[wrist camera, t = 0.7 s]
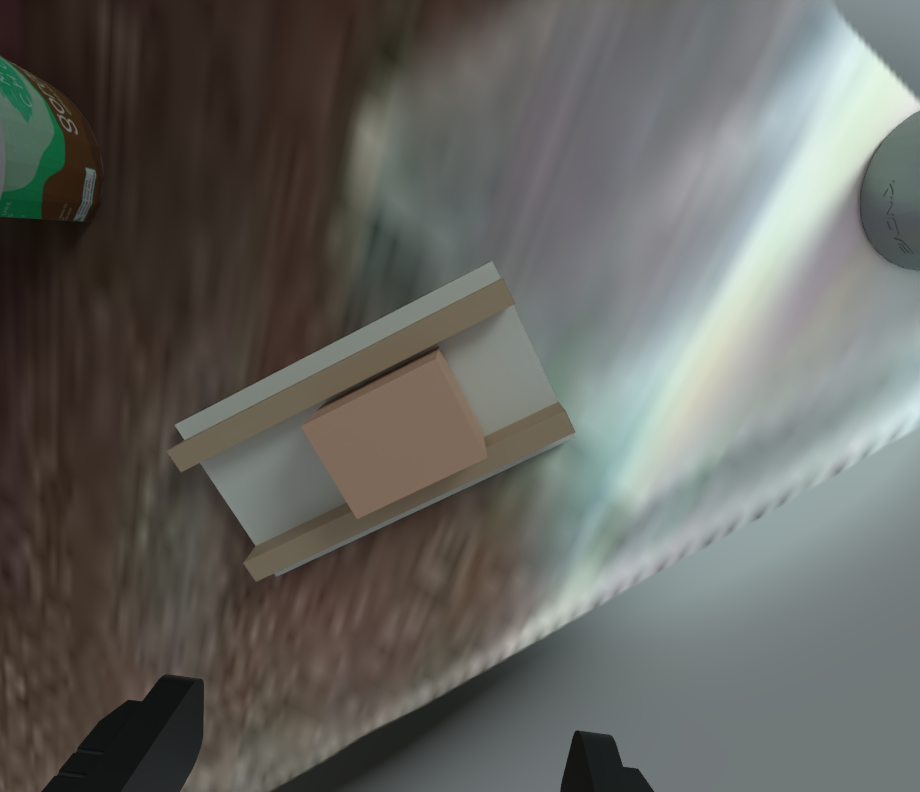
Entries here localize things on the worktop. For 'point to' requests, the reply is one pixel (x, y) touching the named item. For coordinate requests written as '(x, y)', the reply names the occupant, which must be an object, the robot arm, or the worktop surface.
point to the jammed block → (396, 434)
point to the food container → (45, 152)
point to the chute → (345, 368)
